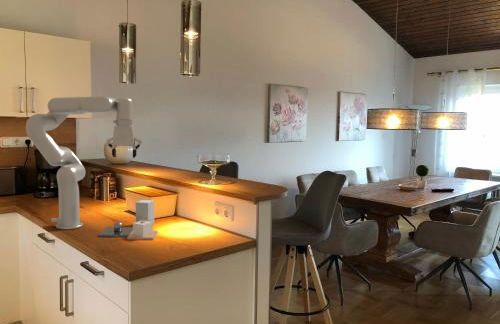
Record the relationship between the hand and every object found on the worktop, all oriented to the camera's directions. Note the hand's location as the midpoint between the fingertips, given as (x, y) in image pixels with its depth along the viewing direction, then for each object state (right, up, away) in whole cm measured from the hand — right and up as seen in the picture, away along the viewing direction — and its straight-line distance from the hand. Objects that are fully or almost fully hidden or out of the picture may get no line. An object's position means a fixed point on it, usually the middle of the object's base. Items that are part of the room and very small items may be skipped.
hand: (124, 157), depth 209 cm
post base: (-2, -37, -5) cm, 37 cm away
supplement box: (+7, -36, +12) cm, 38 cm away
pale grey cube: (+12, -37, -10) cm, 40 cm away
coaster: (+12, -38, -10) cm, 41 cm away
